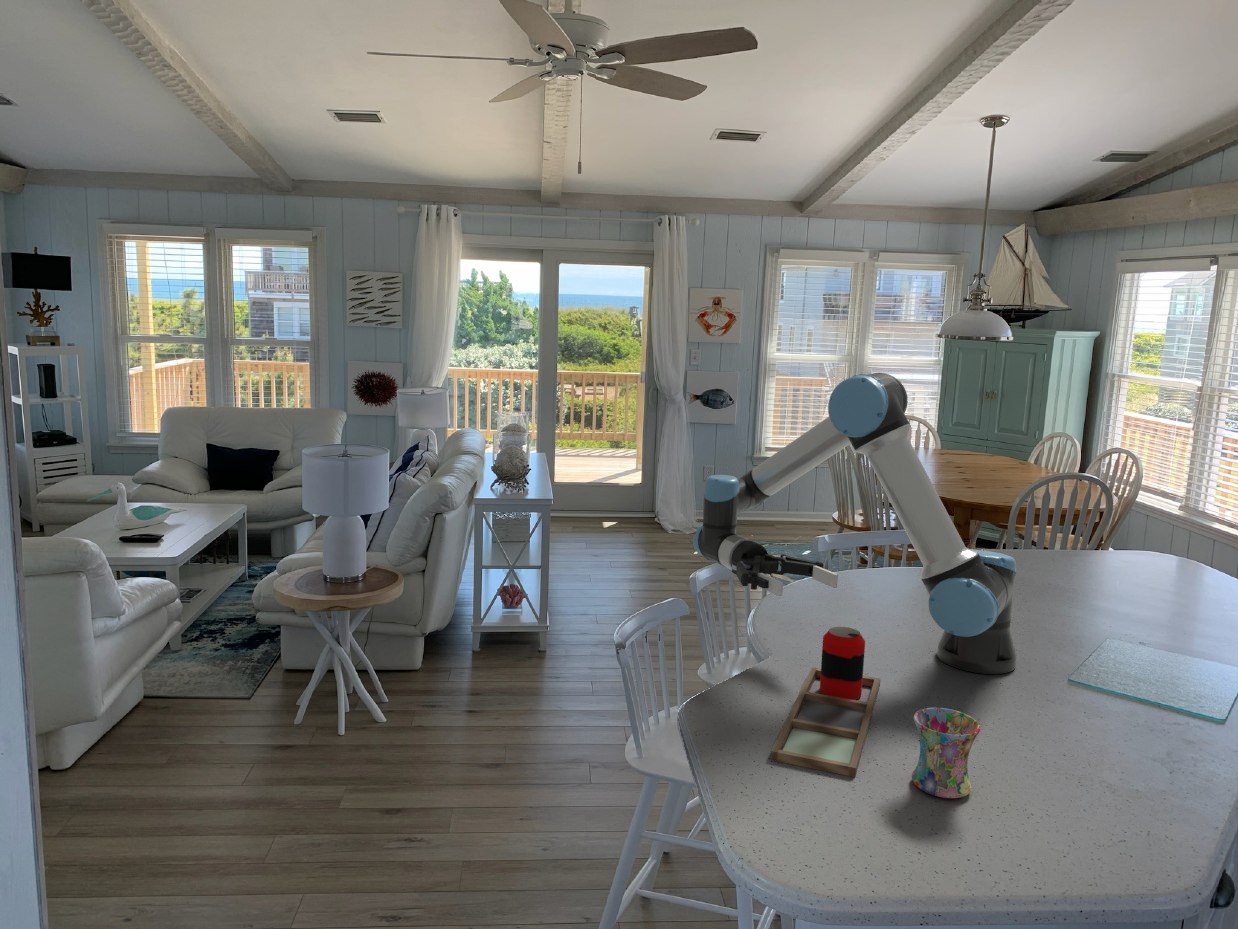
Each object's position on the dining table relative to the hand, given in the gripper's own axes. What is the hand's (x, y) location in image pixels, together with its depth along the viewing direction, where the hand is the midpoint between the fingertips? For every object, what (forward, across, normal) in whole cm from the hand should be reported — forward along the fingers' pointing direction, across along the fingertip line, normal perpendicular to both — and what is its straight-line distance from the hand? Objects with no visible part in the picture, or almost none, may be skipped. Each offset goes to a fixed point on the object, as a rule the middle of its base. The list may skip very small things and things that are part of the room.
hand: (809, 585), depth 170 cm
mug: (+44, +10, -18) cm, 48 cm away
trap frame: (+18, +9, -18) cm, 27 cm away
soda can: (+10, 0, -18) cm, 21 cm away
